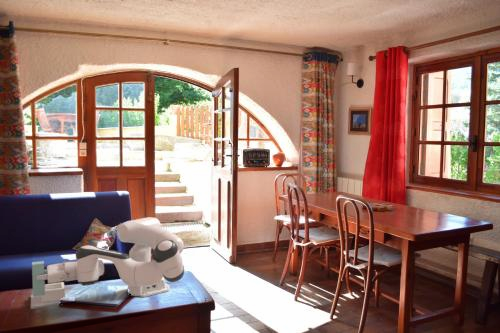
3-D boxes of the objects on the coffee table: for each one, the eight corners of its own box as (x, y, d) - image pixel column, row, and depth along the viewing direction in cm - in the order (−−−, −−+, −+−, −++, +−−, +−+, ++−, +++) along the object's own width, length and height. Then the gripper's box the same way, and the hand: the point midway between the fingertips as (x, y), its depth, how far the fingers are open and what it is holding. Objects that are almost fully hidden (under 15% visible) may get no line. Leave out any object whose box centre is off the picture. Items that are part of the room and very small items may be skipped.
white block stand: (73, 290, 225) (72, 278, 225) (76, 302, 209) (75, 289, 209) (31, 296, 216) (30, 284, 216) (30, 309, 200) (30, 295, 200)
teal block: (44, 291, 202) (43, 260, 201) (44, 295, 197) (44, 263, 197) (33, 293, 199) (32, 262, 199) (33, 296, 195) (32, 264, 194)
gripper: (70, 284, 195) (36, 288, 188) (67, 272, 213) (36, 276, 207) (69, 270, 194) (36, 274, 188) (66, 260, 213) (36, 263, 206)
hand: (36, 275), depth 198 cm, fingers closed on teal block, 5 cm apart
